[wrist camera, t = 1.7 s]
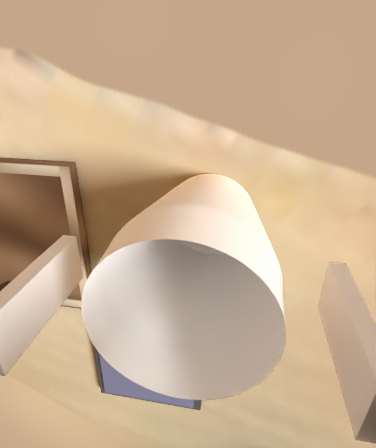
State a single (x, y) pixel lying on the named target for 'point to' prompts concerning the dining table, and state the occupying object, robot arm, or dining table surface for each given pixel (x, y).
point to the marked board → (39, 216)
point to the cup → (190, 294)
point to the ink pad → (134, 387)
